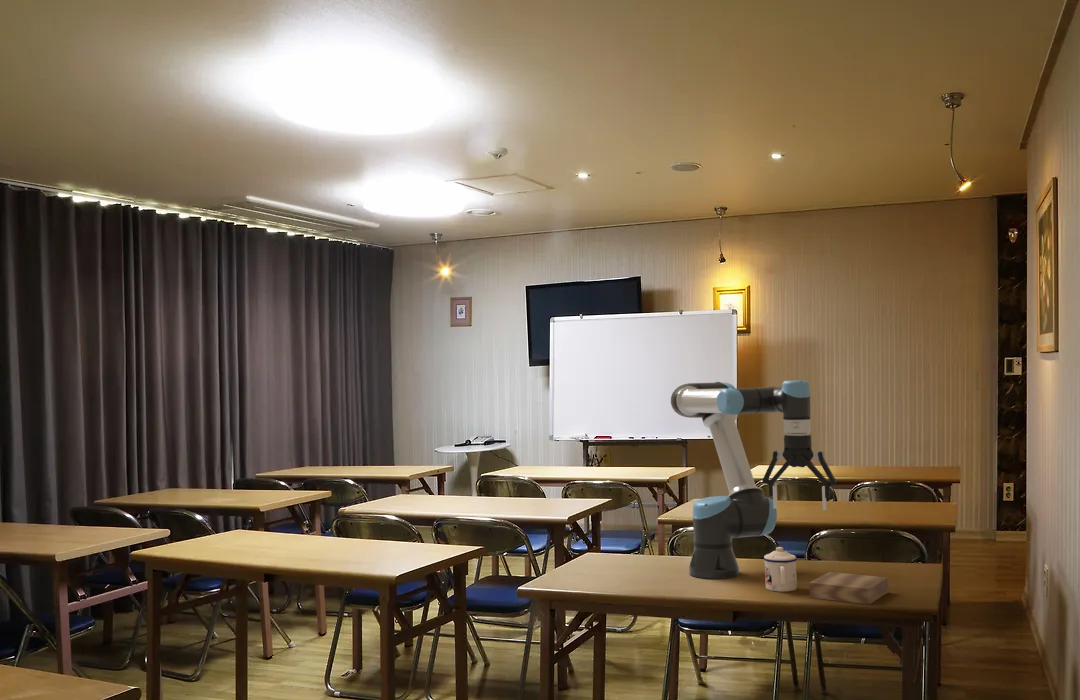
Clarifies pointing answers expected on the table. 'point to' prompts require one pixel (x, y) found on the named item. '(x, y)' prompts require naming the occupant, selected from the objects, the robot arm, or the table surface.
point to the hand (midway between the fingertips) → (799, 508)
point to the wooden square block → (848, 587)
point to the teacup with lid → (780, 571)
